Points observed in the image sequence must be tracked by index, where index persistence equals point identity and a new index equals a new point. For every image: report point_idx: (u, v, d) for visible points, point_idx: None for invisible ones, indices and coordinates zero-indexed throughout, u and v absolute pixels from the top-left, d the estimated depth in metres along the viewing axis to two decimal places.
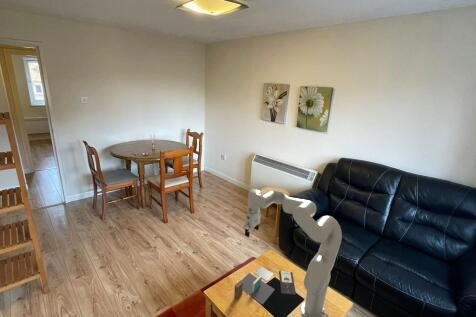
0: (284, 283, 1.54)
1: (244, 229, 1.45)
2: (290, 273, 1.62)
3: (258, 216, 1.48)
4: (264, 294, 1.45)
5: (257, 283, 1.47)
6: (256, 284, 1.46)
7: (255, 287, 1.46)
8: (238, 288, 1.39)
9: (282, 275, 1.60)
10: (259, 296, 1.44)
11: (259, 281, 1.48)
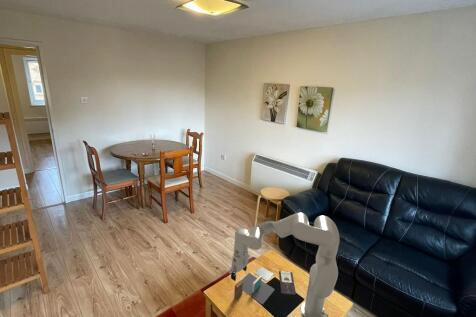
0: (284, 283, 1.54)
1: (230, 273, 1.30)
2: (290, 273, 1.62)
3: (246, 258, 1.34)
4: (264, 294, 1.45)
5: (257, 283, 1.47)
6: (256, 284, 1.46)
7: (255, 287, 1.46)
8: (238, 288, 1.39)
9: (282, 275, 1.60)
10: (259, 296, 1.44)
11: (259, 281, 1.48)
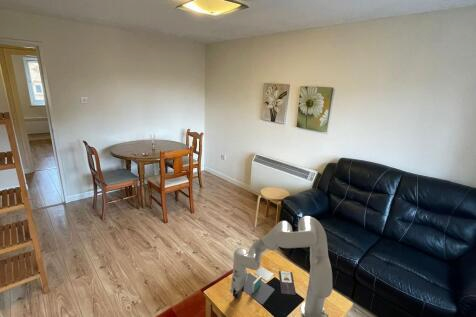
0: (284, 283, 1.54)
1: None
2: (290, 273, 1.62)
3: (245, 276, 1.38)
4: (264, 294, 1.45)
5: (257, 283, 1.47)
6: (256, 284, 1.46)
7: (255, 287, 1.46)
8: None
9: (282, 275, 1.60)
10: (259, 296, 1.44)
11: (259, 281, 1.48)
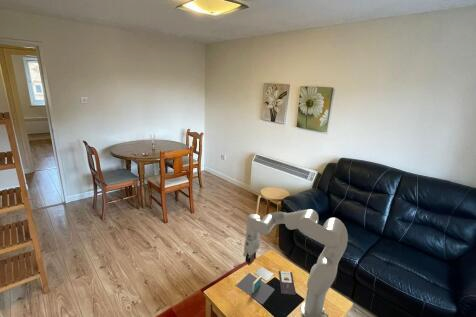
0: (284, 283, 1.54)
1: (245, 256, 1.41)
2: (290, 273, 1.62)
3: (257, 242, 1.42)
4: (264, 294, 1.45)
5: (257, 283, 1.47)
6: (256, 284, 1.46)
7: (255, 287, 1.46)
8: None
9: (282, 275, 1.60)
10: (259, 296, 1.44)
11: (259, 281, 1.48)
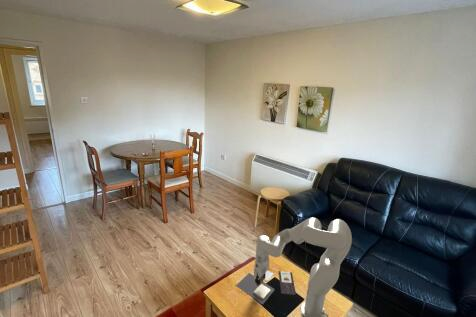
0: (284, 283, 1.54)
1: None
2: (290, 273, 1.62)
3: (267, 263, 1.41)
4: None
5: None
6: None
7: None
8: None
9: (282, 275, 1.60)
10: None
11: None
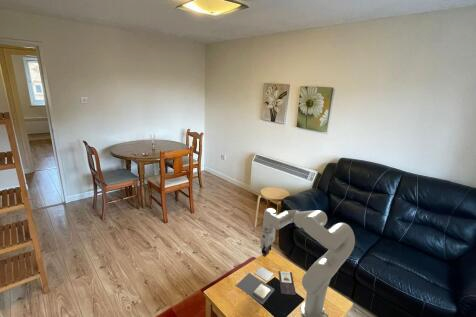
0: (284, 283, 1.53)
1: (261, 248, 1.49)
2: (290, 273, 1.62)
3: (273, 234, 1.51)
4: None
5: None
6: None
7: None
8: None
9: (282, 275, 1.60)
10: None
11: None
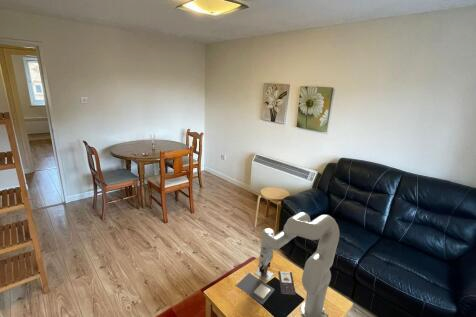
0: (284, 283, 1.53)
1: (259, 267, 1.53)
2: (289, 273, 1.62)
3: (271, 253, 1.55)
4: None
5: None
6: None
7: None
8: None
9: (282, 275, 1.60)
10: None
11: None
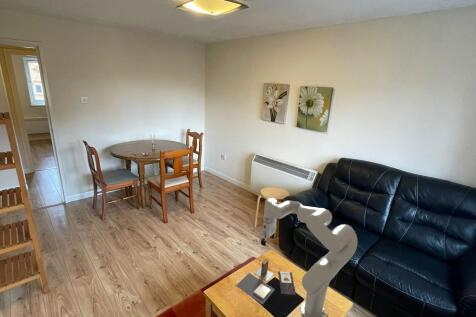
0: (284, 283, 1.53)
1: (261, 238, 1.45)
2: (289, 273, 1.62)
3: (274, 225, 1.48)
4: None
5: None
6: None
7: None
8: (265, 265, 1.56)
9: (281, 275, 1.60)
10: None
11: None
